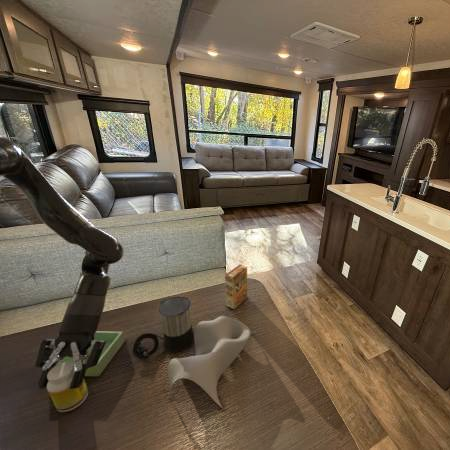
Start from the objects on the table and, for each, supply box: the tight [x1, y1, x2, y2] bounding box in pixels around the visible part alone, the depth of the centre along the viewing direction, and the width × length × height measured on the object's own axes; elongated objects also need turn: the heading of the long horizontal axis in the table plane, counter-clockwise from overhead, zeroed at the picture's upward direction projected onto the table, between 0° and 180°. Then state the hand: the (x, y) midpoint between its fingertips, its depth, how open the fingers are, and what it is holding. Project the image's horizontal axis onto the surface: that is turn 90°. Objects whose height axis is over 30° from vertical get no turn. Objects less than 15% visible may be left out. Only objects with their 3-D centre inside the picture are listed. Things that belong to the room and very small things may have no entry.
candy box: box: [224, 264, 248, 310], centre depth 99 cm, size 9×4×15 cm, turn 154°
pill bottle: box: [46, 362, 89, 413], centre depth 61 cm, size 6×6×11 cm
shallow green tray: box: [57, 330, 126, 377], centre depth 74 cm, size 13×12×4 cm
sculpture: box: [167, 315, 253, 409], centre depth 75 cm, size 25×19×10 cm
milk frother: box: [132, 295, 194, 359], centre depth 78 cm, size 14×16×15 cm
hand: (59, 387), depth 59 cm, fingers closed on pill bottle, 6 cm apart
